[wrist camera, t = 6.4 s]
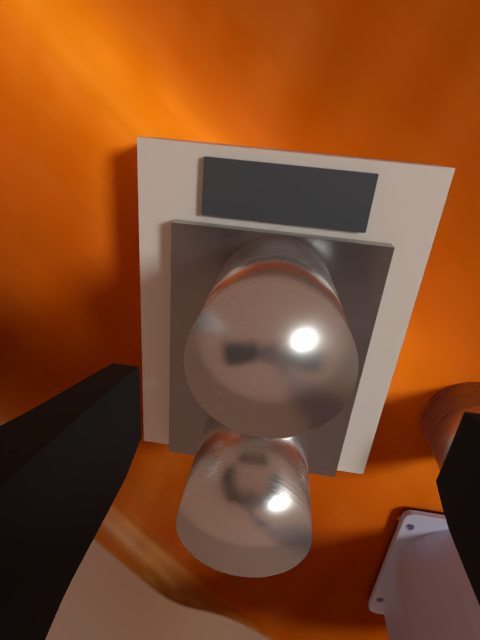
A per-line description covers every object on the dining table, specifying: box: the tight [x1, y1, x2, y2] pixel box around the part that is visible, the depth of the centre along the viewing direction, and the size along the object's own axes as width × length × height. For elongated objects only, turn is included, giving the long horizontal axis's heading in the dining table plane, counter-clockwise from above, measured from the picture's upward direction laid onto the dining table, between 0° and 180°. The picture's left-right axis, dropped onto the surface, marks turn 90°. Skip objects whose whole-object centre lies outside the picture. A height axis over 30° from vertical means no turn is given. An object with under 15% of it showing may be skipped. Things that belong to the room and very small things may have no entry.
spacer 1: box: [184, 237, 359, 439], centre depth 12 cm, size 4×4×6 cm
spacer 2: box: [176, 414, 312, 578], centre depth 15 cm, size 4×4×6 cm
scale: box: [137, 137, 455, 474], centre depth 17 cm, size 14×11×2 cm
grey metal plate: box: [169, 219, 395, 477], centre depth 17 cm, size 11×8×1 cm
